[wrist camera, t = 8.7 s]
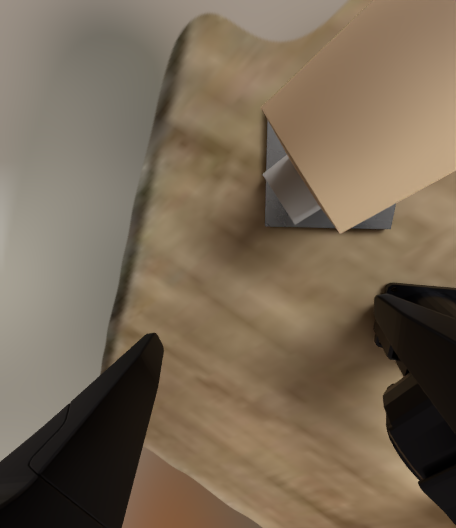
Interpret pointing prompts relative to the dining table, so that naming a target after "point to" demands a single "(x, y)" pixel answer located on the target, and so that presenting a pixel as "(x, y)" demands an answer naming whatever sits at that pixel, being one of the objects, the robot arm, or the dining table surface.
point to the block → (369, 114)
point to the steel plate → (280, 217)
